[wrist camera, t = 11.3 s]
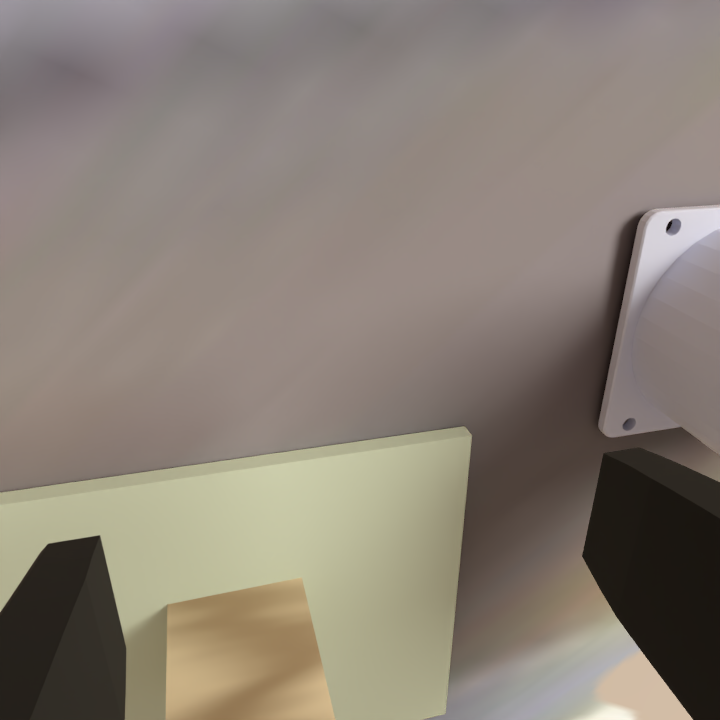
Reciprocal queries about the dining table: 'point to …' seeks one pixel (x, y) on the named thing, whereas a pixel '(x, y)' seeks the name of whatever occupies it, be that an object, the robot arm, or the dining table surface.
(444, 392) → the dining table surface
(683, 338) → the robot arm
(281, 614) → the birch block
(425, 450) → the felt mat
